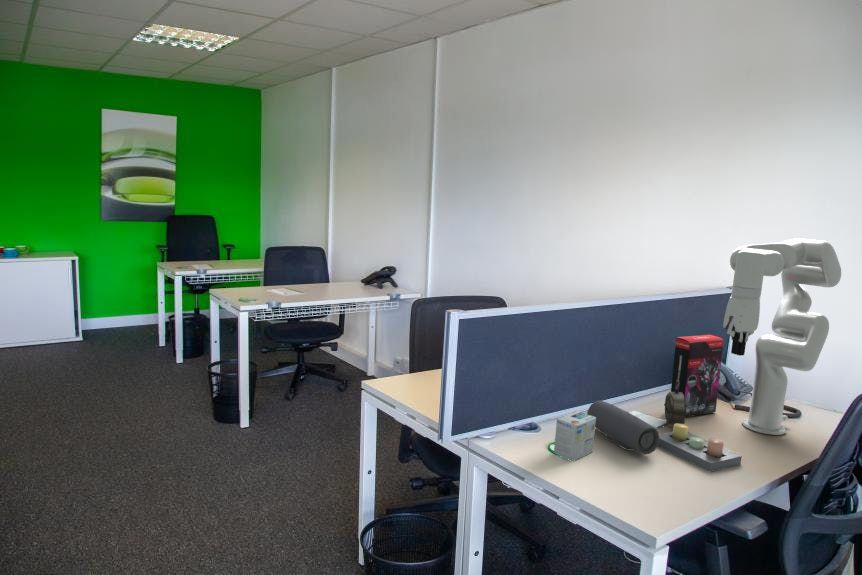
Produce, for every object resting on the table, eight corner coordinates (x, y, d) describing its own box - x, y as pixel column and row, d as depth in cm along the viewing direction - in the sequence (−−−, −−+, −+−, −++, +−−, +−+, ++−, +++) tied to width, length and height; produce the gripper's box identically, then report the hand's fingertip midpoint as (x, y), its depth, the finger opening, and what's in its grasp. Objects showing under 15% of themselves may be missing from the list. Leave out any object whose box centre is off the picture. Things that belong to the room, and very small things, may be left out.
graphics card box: (681, 419, 204) (692, 341, 200) (665, 412, 210) (675, 336, 206) (716, 413, 212) (726, 338, 208) (699, 406, 218) (709, 333, 214)
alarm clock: (684, 435, 189) (690, 386, 187) (666, 433, 190) (672, 384, 188) (677, 423, 200) (683, 376, 198) (660, 420, 201) (665, 374, 199)
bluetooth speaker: (659, 457, 172) (663, 423, 170) (633, 460, 168) (637, 427, 167) (607, 427, 193) (610, 397, 191) (583, 430, 189) (586, 399, 187)
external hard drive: (656, 431, 193) (621, 419, 202) (668, 426, 198) (634, 414, 207) (657, 426, 193) (622, 414, 202) (669, 421, 198) (634, 409, 207)
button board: (682, 437, 187) (683, 429, 187) (740, 464, 170) (741, 456, 170) (652, 443, 181) (653, 435, 181) (710, 471, 164) (711, 463, 164)
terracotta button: (712, 450, 173) (714, 437, 172) (725, 456, 169) (726, 443, 169) (703, 452, 171) (705, 439, 170) (715, 458, 167) (717, 445, 167)
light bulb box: (573, 444, 177) (576, 409, 175) (593, 452, 172) (597, 416, 170) (552, 454, 169) (555, 417, 168) (573, 462, 165) (576, 425, 163)
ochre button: (678, 435, 183) (680, 422, 183) (689, 440, 180) (691, 427, 179) (669, 436, 181) (670, 424, 181) (680, 442, 178) (681, 429, 177)
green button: (694, 449, 178) (695, 436, 178) (705, 454, 175) (707, 441, 174) (684, 451, 176) (686, 438, 176) (696, 456, 173) (698, 443, 172)
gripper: (750, 290, 181) (742, 349, 184) (717, 291, 174) (709, 352, 177) (774, 294, 175) (765, 355, 177) (741, 296, 168) (732, 359, 171)
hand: (737, 354), depth 177 cm, fingers closed
